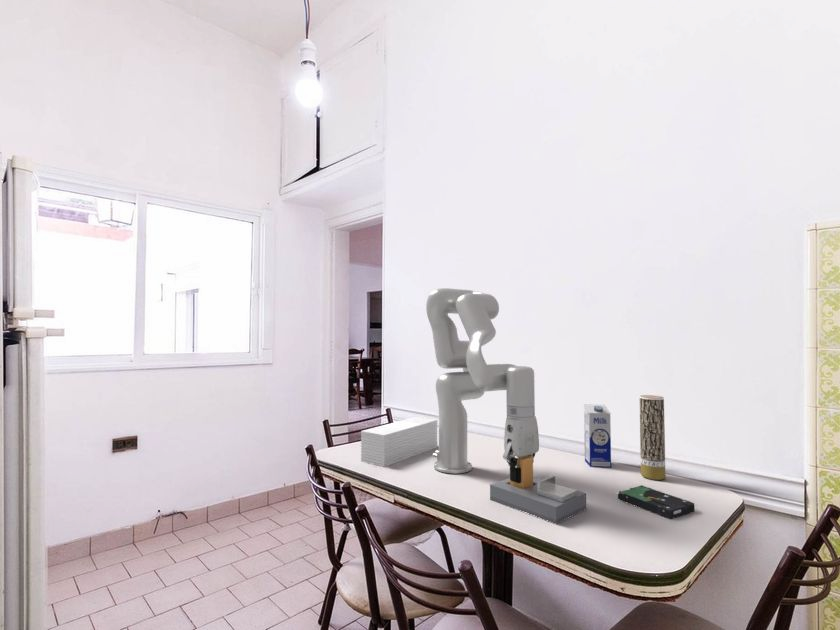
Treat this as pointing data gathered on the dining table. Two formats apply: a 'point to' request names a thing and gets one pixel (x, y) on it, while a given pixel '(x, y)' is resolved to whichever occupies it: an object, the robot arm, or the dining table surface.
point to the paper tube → (652, 437)
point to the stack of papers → (398, 440)
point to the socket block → (536, 501)
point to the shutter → (554, 490)
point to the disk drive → (657, 502)
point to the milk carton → (597, 435)
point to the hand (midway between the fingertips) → (521, 478)
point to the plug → (525, 473)
